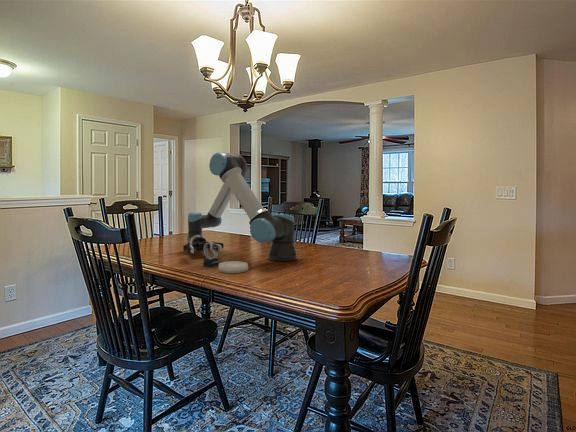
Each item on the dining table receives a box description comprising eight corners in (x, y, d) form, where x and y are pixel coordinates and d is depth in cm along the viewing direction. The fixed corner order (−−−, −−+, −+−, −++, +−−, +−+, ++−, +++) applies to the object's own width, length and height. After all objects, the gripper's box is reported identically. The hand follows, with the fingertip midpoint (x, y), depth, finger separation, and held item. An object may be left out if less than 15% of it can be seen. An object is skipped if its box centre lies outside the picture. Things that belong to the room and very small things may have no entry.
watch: (213, 267, 167) (213, 243, 166) (200, 265, 171) (200, 242, 170) (221, 265, 172) (221, 242, 171) (209, 263, 176) (209, 240, 175)
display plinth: (246, 266, 171) (246, 260, 171) (248, 272, 158) (248, 267, 158) (218, 266, 169) (218, 261, 169) (218, 273, 156) (218, 267, 156)
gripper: (221, 248, 202) (232, 255, 183) (174, 251, 191) (180, 259, 172) (221, 234, 201) (232, 240, 182) (174, 237, 191) (180, 243, 171)
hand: (207, 249), depth 177 cm, fingers open, 13 cm apart
